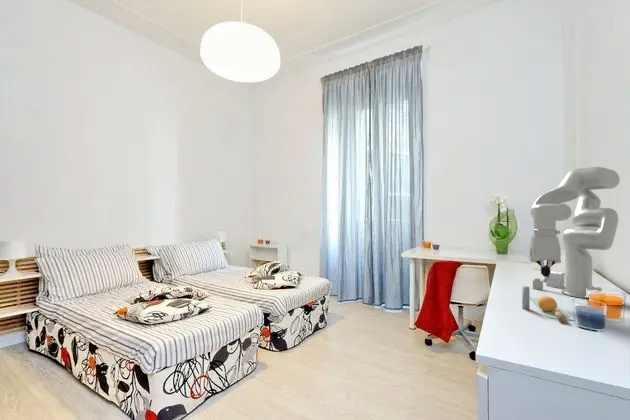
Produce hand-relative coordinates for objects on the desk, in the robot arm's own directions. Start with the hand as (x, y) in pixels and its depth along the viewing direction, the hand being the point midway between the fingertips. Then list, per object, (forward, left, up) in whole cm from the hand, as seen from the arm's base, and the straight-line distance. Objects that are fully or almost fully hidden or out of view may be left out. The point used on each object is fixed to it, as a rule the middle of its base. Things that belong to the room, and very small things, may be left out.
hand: (545, 276), depth 131 cm
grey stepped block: (-15, -22, -12) cm, 30 cm away
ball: (+7, +10, -9) cm, 15 cm away
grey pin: (+14, +7, -12) cm, 19 cm away
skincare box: (-27, -28, -12) cm, 41 cm away
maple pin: (+7, +15, -11) cm, 19 cm away
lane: (+3, +6, -12) cm, 14 cm away
